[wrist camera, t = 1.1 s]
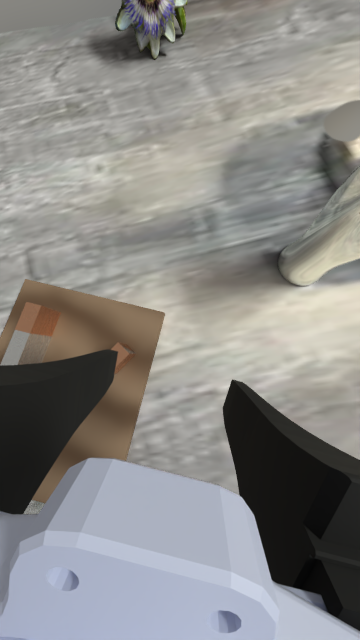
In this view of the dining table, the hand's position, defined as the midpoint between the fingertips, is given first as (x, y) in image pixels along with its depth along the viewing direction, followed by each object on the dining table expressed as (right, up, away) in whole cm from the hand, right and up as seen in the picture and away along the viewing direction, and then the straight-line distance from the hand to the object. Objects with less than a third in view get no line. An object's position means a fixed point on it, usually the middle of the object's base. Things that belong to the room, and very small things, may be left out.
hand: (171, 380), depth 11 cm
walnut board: (-13, -4, +10) cm, 17 cm away
